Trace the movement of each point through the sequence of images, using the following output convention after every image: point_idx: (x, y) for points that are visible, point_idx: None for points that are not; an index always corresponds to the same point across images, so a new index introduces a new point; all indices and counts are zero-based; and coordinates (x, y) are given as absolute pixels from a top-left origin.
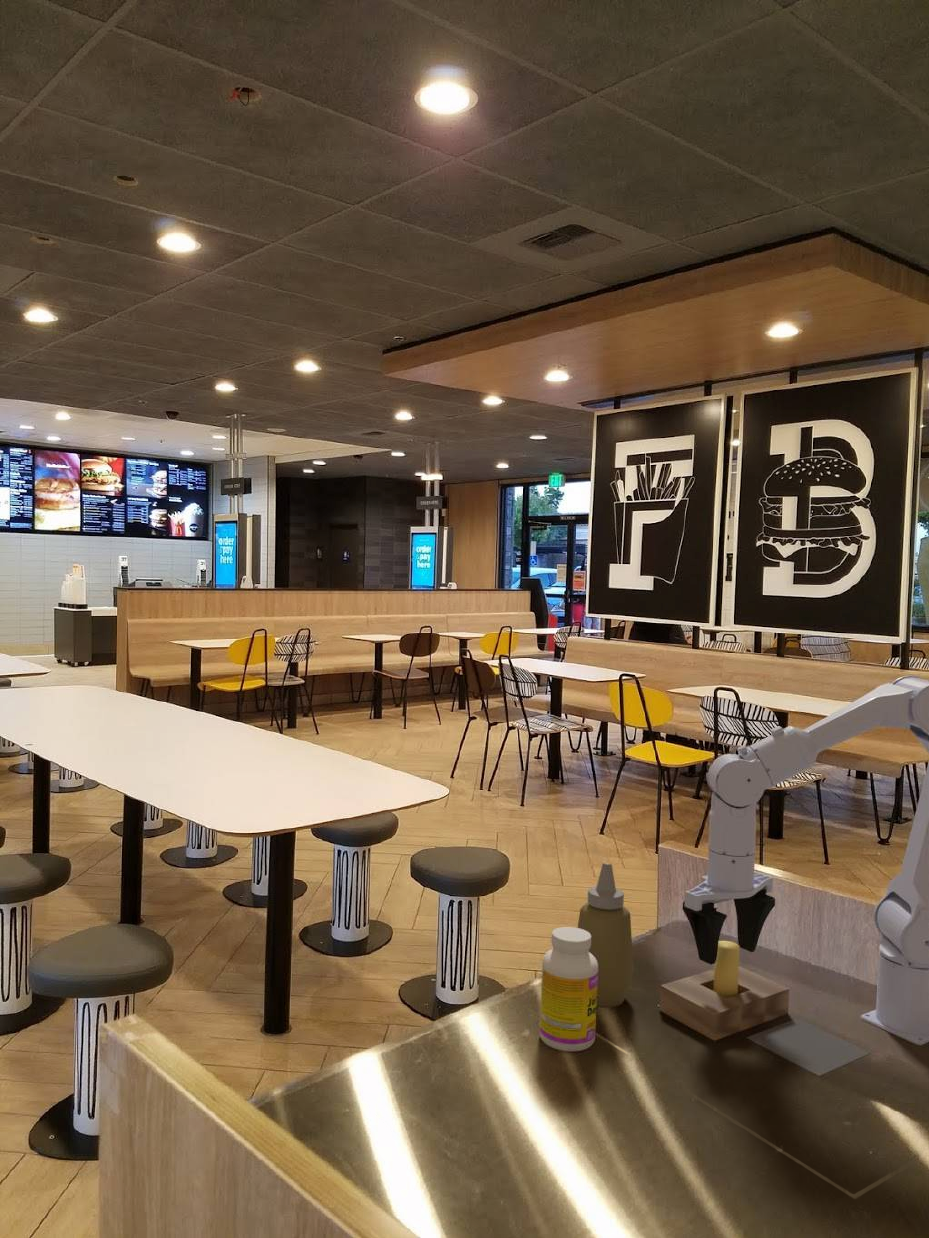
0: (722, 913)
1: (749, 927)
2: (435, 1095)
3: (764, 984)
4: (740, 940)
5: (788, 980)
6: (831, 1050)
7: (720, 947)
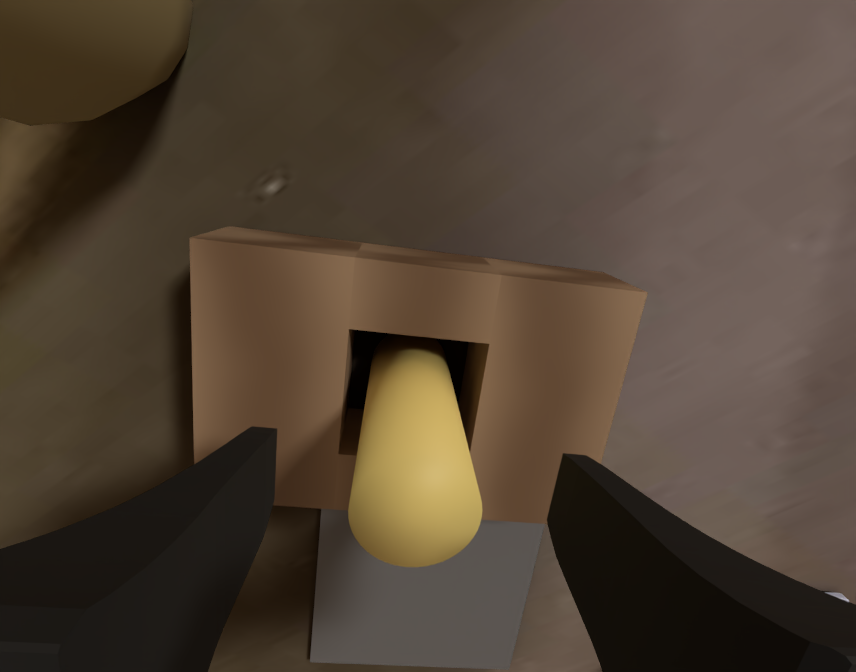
0: None
1: (605, 596)
2: None
3: (550, 465)
4: (574, 481)
5: (799, 350)
6: (446, 625)
7: (353, 510)
